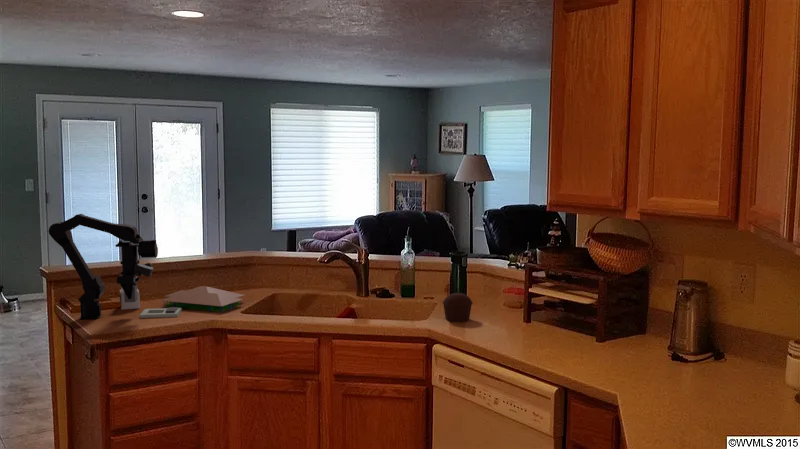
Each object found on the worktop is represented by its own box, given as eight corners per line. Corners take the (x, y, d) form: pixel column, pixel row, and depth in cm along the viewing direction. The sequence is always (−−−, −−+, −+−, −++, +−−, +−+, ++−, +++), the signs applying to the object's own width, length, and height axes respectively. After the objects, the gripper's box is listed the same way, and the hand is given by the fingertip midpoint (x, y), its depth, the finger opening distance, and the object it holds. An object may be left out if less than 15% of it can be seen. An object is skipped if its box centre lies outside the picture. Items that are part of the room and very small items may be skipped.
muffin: (458, 324, 271) (459, 297, 270) (436, 319, 278) (436, 293, 277) (478, 319, 279) (478, 293, 278) (456, 314, 287) (456, 289, 286)
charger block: (124, 302, 280) (124, 286, 280) (126, 300, 284) (126, 285, 284) (135, 301, 281) (134, 286, 280) (137, 299, 285) (137, 284, 284)
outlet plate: (139, 317, 280) (139, 312, 280) (145, 311, 291) (145, 306, 291) (177, 316, 282) (177, 311, 282) (181, 310, 293) (181, 305, 293)
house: (191, 297, 323) (190, 279, 322) (254, 303, 310) (254, 284, 309) (155, 307, 301) (154, 288, 301) (221, 314, 289) (221, 294, 288)
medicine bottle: (120, 306, 301) (119, 278, 300) (138, 305, 304) (137, 276, 303) (121, 310, 295) (120, 280, 294) (139, 308, 298) (139, 279, 297)
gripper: (146, 260, 273) (147, 301, 275) (155, 254, 291) (156, 292, 293) (115, 261, 271) (116, 302, 273) (126, 254, 290) (128, 293, 291)
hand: (130, 297), depth 283 cm, fingers closed on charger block, 4 cm apart
